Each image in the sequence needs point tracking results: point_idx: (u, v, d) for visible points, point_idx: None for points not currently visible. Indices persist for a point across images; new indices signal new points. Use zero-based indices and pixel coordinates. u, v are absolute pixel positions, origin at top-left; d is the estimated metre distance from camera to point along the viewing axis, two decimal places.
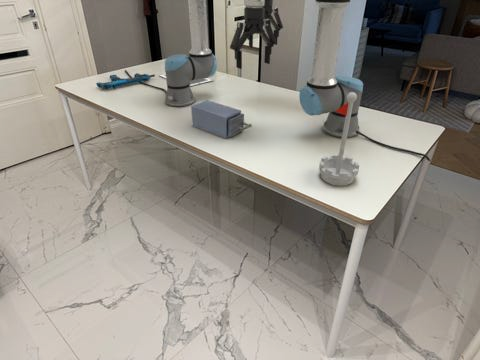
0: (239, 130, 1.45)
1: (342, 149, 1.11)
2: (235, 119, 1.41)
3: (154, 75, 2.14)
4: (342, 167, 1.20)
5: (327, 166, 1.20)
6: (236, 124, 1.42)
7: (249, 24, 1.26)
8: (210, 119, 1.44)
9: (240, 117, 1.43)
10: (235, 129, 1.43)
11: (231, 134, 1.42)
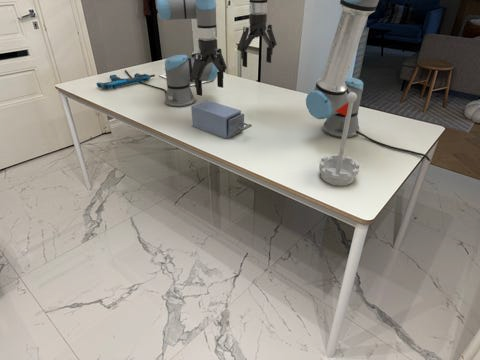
0: (239, 130, 1.45)
1: (342, 149, 1.11)
2: (235, 119, 1.41)
3: (154, 75, 2.14)
4: (342, 167, 1.20)
5: (327, 166, 1.20)
6: (236, 124, 1.42)
7: None
8: (210, 119, 1.44)
9: (240, 117, 1.43)
10: (235, 129, 1.43)
11: (231, 134, 1.42)
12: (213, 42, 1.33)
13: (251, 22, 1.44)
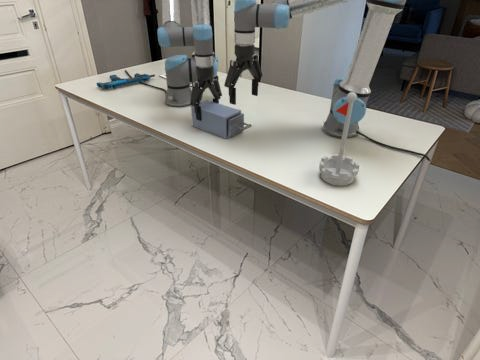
0: (239, 130, 1.45)
1: (342, 149, 1.11)
2: (235, 119, 1.41)
3: (154, 75, 2.14)
4: (342, 167, 1.20)
5: (327, 166, 1.20)
6: (236, 124, 1.42)
7: None
8: (210, 119, 1.44)
9: (240, 117, 1.43)
10: (235, 129, 1.43)
11: (231, 134, 1.42)
12: (209, 69, 1.39)
13: (238, 55, 1.25)
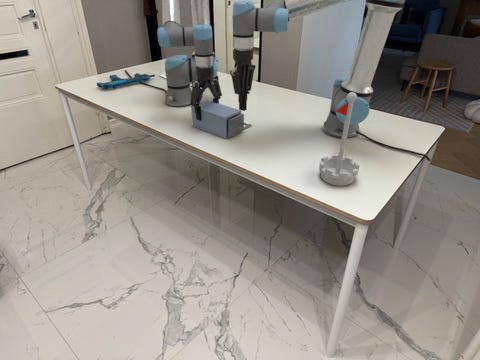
0: (239, 130, 1.45)
1: (342, 149, 1.11)
2: (235, 119, 1.41)
3: (154, 75, 2.14)
4: (342, 167, 1.20)
5: (327, 166, 1.20)
6: (236, 124, 1.42)
7: None
8: (210, 119, 1.44)
9: (240, 117, 1.43)
10: (235, 129, 1.43)
11: (231, 134, 1.42)
12: (209, 69, 1.39)
13: (237, 59, 1.23)
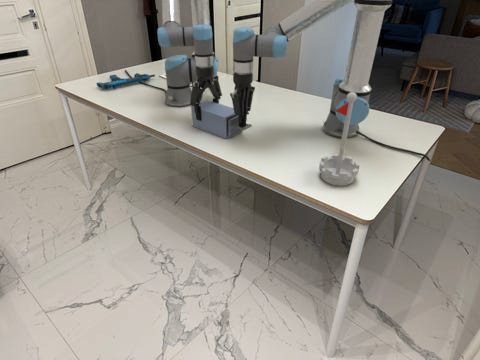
0: (239, 130, 1.45)
1: (342, 149, 1.11)
2: (235, 119, 1.41)
3: (154, 75, 2.14)
4: (342, 167, 1.20)
5: (327, 166, 1.20)
6: (236, 124, 1.42)
7: None
8: (210, 119, 1.44)
9: None
10: (235, 129, 1.43)
11: (231, 134, 1.42)
12: (209, 69, 1.39)
13: (237, 82, 1.28)
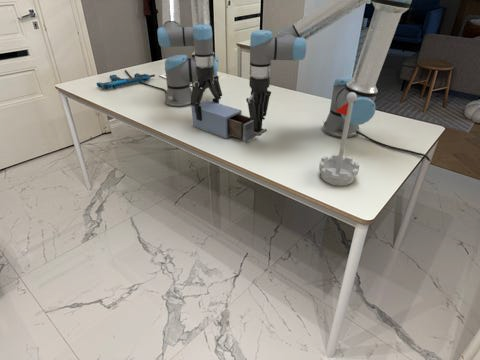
0: (254, 135, 1.41)
1: (342, 149, 1.11)
2: (250, 124, 1.36)
3: (154, 75, 2.14)
4: (342, 167, 1.20)
5: (327, 166, 1.20)
6: (251, 129, 1.38)
7: None
8: (211, 119, 1.44)
9: None
10: (250, 134, 1.39)
11: (246, 139, 1.38)
12: (210, 69, 1.38)
13: (254, 87, 1.24)
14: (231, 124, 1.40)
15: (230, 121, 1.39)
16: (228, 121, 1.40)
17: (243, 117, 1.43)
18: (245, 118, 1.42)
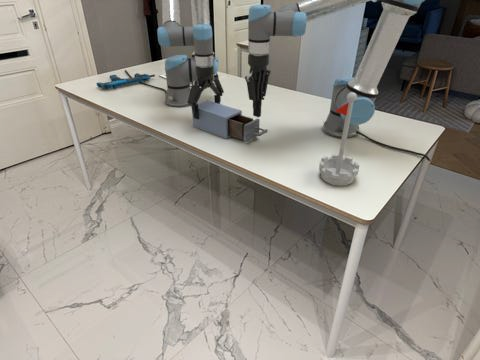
0: (254, 135, 1.41)
1: (342, 149, 1.11)
2: (251, 124, 1.36)
3: (154, 75, 2.14)
4: (342, 167, 1.20)
5: (327, 166, 1.20)
6: (252, 129, 1.38)
7: None
8: (211, 119, 1.44)
9: (256, 122, 1.38)
10: (251, 134, 1.39)
11: (247, 139, 1.38)
12: (209, 69, 1.38)
13: (253, 65, 1.20)
14: (232, 124, 1.40)
15: (231, 122, 1.39)
16: (229, 122, 1.40)
17: (244, 118, 1.42)
18: (246, 119, 1.42)
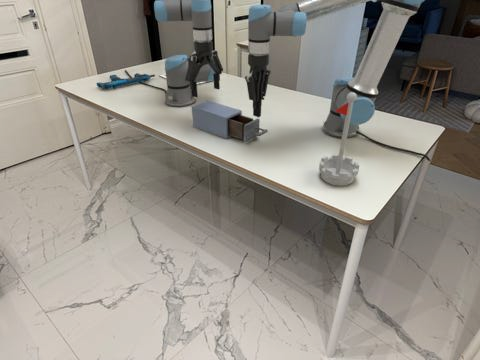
0: (254, 135, 1.41)
1: (342, 149, 1.11)
2: (251, 124, 1.36)
3: (154, 75, 2.14)
4: (342, 167, 1.20)
5: (327, 166, 1.20)
6: (252, 129, 1.38)
7: None
8: (211, 119, 1.44)
9: (256, 122, 1.38)
10: (251, 134, 1.39)
11: (247, 139, 1.38)
12: (208, 44, 1.33)
13: (253, 65, 1.20)
14: (232, 124, 1.40)
15: (231, 122, 1.39)
16: (229, 122, 1.40)
17: (244, 118, 1.42)
18: (246, 119, 1.42)
